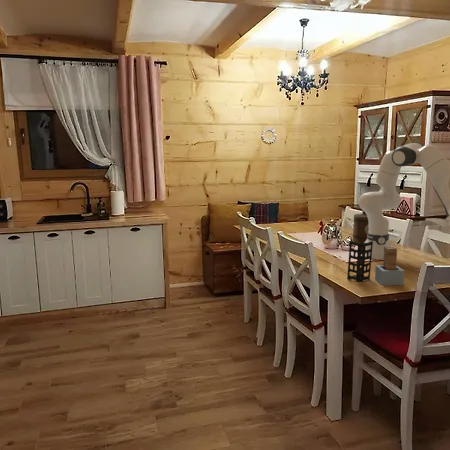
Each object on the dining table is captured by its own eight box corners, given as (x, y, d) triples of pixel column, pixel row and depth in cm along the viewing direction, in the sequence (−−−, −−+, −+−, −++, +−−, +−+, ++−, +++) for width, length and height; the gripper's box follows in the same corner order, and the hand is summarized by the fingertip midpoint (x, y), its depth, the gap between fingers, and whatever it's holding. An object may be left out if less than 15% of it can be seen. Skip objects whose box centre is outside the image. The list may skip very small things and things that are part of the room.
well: (374, 279, 208) (375, 265, 207) (395, 278, 208) (395, 264, 207) (382, 285, 198) (382, 271, 197) (403, 284, 198) (404, 270, 197)
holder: (367, 276, 212) (369, 238, 207) (373, 282, 205) (375, 243, 199) (345, 277, 212) (347, 239, 206) (350, 283, 205) (352, 244, 199)
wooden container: (370, 244, 284) (372, 211, 280) (349, 241, 293) (350, 210, 289) (377, 240, 296) (379, 209, 292) (357, 237, 305) (358, 207, 301)
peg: (382, 278, 205) (383, 246, 202) (391, 278, 205) (393, 246, 202) (386, 281, 201) (387, 248, 198) (395, 281, 201) (396, 248, 198)
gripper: (442, 215, 214) (415, 215, 214) (464, 222, 194) (434, 223, 194) (441, 227, 215) (414, 227, 216) (463, 235, 195) (433, 236, 195)
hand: (424, 225), depth 205 cm, fingers open, 8 cm apart
